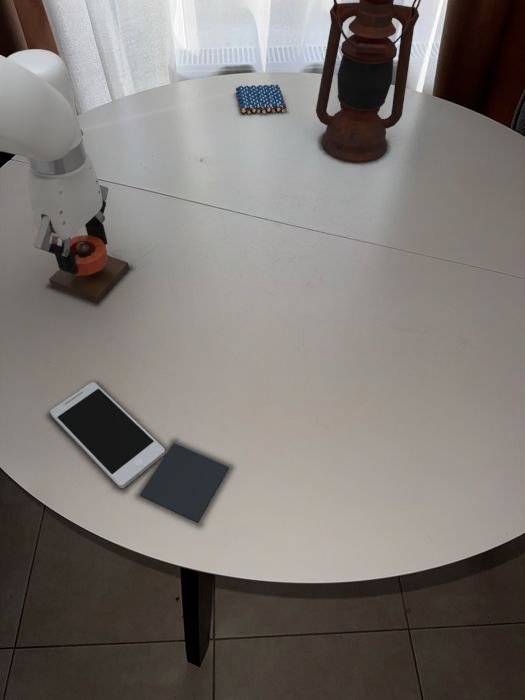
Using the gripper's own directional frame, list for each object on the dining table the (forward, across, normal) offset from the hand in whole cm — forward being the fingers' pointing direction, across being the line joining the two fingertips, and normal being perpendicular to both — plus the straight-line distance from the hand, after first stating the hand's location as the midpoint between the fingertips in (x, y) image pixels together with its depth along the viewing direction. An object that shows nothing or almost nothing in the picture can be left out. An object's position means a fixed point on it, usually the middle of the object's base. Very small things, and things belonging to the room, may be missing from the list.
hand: (84, 255), depth 90 cm
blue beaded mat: (+4, -65, 0) cm, 65 cm away
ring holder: (+5, 0, 0) cm, 5 cm away
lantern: (+5, -58, +25) cm, 64 cm away
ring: (+1, 0, 0) cm, 1 cm away
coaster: (+5, +25, +32) cm, 41 cm away
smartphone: (+5, +23, +20) cm, 31 cm away
